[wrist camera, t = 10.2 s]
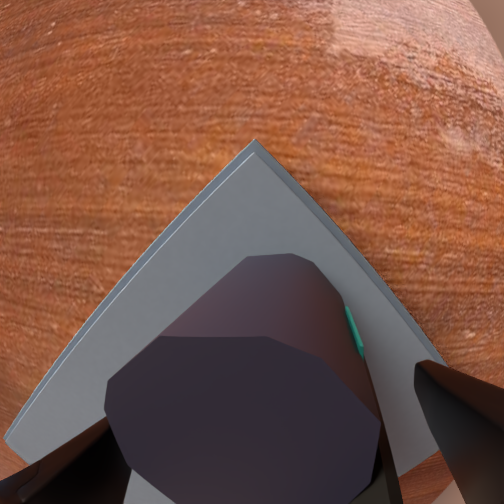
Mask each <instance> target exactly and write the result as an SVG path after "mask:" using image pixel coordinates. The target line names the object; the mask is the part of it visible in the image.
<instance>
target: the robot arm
mask: <svg viewBox="0 0 504 504" xmlns="http://www.w3.org/2000/svg"><path fill="white" fill-rule="evenodd" d="M414 390H415V393H416V395H417V398H418V401H419V403H420V406H421V408H422V411H423V414H424V416H425V419H426V422H427V424H428V427H429V429H430V431H431V434H432V436H433V437H434V439H435V441H436V443H437V445H438V447H439V449H440V451H441V453H442V455H443V457H444V459H445V461H446V463H447V465H448V467H449V469H450V471H451V473H452V475H453V477H454V480H455V482H456V484H457V486H458V488H459V490H460V492H461V494H462V497H463V499H464V501H465V503H466V504H504V389H503V388H500V387H498V386H495V385H492V384H490V383H487V382H485V381H482V380H479V379H477V378H474V377H472V376H469V375H467V374H464V373H462V372H459V371H457V370H454V369H452V368H449V367H447V366H444V365H442V364H439V363H437V362H434V361H432V360H429V359H426V360H423V361H420V362H417V363H416V364H415V368H414ZM131 472H132V468H131V467H129V466H128V465H127V463H126V461H125V458H124V456H123V454H122V452H121V450H120V447H119V445H118V443H117V441H116V438H115V436H114V434H113V431H112V429H111V426H110V424H109V422H108V419H107V416H105V417H104V418H102V419H101V420H99V421H98V422H96V423H95V424H93V425H92V426H90V427H89V428H87V429H86V430H84V431H83V432H81V433H80V434H78V435H77V436H75V437H74V438H72V439H71V440H69V441H68V442H66V443H65V444H63V445H62V446H60V447H58V448H57V449H55V450H54V451H52V452H51V453H49V454H47V455H46V456H44V457H43V458H41V460H38V461H36V462H35V463H33V464H31V465H30V466H28V467H26V468H25V469H23V470H21V471H19V472H17V473H15V474H13V475H12V476H10V477H8V478H5V479H3V480H1V481H0V504H123V503H124V499H125V495H126V492H127V488H128V484H129V480H130V476H131Z"/></svg>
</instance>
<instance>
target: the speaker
mask: <svg viewBox="0 0 504 504" xmlns="http://www.w3.org/2000/svg"><path fill="white" fill-rule="evenodd" d="M104 411H105V414H106V416H107V419H108V422H109V424H110V426H111V429H112V431H113V434H114V436H115V438H116V441H117V443H118V445H119V447H120V450H121V452H122V454H123V456H124V458H125V461H126V463H127V465H128V466H129V467H131V468H132V469H133V470H134V471H135V472H136V473H137V474H139V475H140V476H141V477H142V478H143V479H145V480H146V481H147V482H148V483H150V484H151V485H152V486H153V487H155V488H156V489H157V490H158V491H160V492H161V493H162V494H164V495H165V496H166V497H168V498H169V499H170V500H172V501H173V502H174V503H176V504H403V499H402V494H401V490H400V485H399V481H398V476H397V472H396V468H395V464H394V460H393V455H392V451H391V447H390V444H389V440H388V436H387V432H386V428H385V424H384V421H383V417H382V414H381V410H380V406H379V403H378V399H377V396H376V392H375V389H374V386H373V382H372V379H371V376H370V372H369V369H368V366H367V363H366V360H365V356H364V346H363V343H362V341H361V338H360V336H359V333H358V330H357V328H356V325H355V323H354V320H353V317H352V315H351V312H350V310H349V307H348V306H345V304H344V302H343V299H342V296H341V294H340V293H339V292H338V291H337V290H336V288H335V287H334V286H333V285H332V284H331V282H330V281H329V280H328V279H327V278H326V277H325V275H324V274H323V273H322V272H321V271H320V269H319V268H318V267H317V266H316V265H315V263H314V262H312V261H310V260H307V259H305V258H302V257H300V256H298V255H295V254H293V253H286V254H273V255H259V256H247V257H245V258H244V259H243V260H242V261H241V262H240V263H239V264H237V265H236V266H235V267H234V268H233V269H232V270H230V271H229V272H228V273H227V274H226V275H225V276H224V277H222V278H221V279H220V280H219V281H218V282H217V283H216V284H214V285H213V286H212V287H211V288H210V289H209V290H208V291H207V292H206V293H204V294H203V295H202V296H201V297H200V298H199V299H198V300H197V301H195V302H194V303H193V304H192V305H191V306H190V307H189V308H188V309H187V310H185V311H184V312H183V313H182V314H181V315H180V316H179V317H178V318H176V319H175V320H174V321H173V322H172V323H171V324H170V325H169V326H168V327H166V328H165V329H164V330H163V331H162V332H161V333H160V334H159V335H158V336H156V337H155V338H154V339H153V340H152V341H151V342H150V343H149V344H148V345H146V346H145V347H144V348H143V349H142V350H141V351H140V352H139V353H137V354H136V355H135V356H134V357H133V358H132V359H131V360H130V361H129V362H127V363H126V364H125V365H124V366H123V367H122V368H121V369H120V370H119V371H117V372H116V373H115V374H114V375H113V376H112V377H111V378H110V379H108V381H107V388H106V395H105V402H104Z"/></svg>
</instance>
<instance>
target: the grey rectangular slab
mask: <svg viewBox="0 0 504 504" xmlns="http://www.w3.org/2000/svg"><path fill="white" fill-rule="evenodd" d="M286 253H293V254H295V255H298V256H300V257H302V258H305V259H307V260H310V261H312V262H314V263H315V265H316V266H317V267H318V268H319V269H320V271H321V272H322V273H323V274H324V275H325V277H326V278H327V279H328V280H329V281H330V282H331V284H332V285H333V286H334V287H335V288H336V290H337V291H338V292H339V293H340V294H341V296H342V299H343V302H344V304H345V306H348V307H349V310H350V312H351V315H352V317H353V320H354V323H355V325H356V328H357V330H358V333H359V336H360V338H361V341H362V343H363V346H364V356H365V360H366V363H367V366H368V369H369V372H370V376H371V379H372V382H373V386H374V389H375V392H376V396H377V399H378V403H379V406H380V410H381V414H382V417H383V421H384V424H385V428H386V432H387V436H388V440H389V444H390V447H391V451H392V455H393V460H394V464H395V468H396V472H397V476H398V477H400V476H401V475H403V474H404V473H406V472H408V471H409V470H411V469H412V468H414V467H415V466H417V465H418V464H420V463H421V462H423V461H424V460H426V459H427V458H428V457H430V456H431V455H433V454H434V453H436V452H437V451H438V450H440V449H439V447H438V445H437V443H436V441H435V439H434V437H433V436H432V434H431V431H430V429H429V427H428V424H427V422H426V419H425V416H424V414H423V411H422V408H421V406H420V403H419V401H418V398H417V395H416V393H415V390H414V368H415V364H416V363H417V362H420V361H423V360H426V359H429V360H432V361H434V362H437V363H439V364H442V365H444V366H447V367H448V365H447V364H446V363H445V361H444V360H443V358H442V357H441V355H440V354H439V353H438V351H437V350H436V349H435V347H434V346H433V344H432V343H431V342H430V340H429V339H428V338H427V336H426V335H425V333H424V332H423V331H422V329H421V328H420V327H419V325H418V324H417V323H416V321H415V320H414V319H413V317H412V316H411V315H410V314H409V312H408V311H407V310H406V308H405V307H404V306H403V304H402V303H401V302H400V301H399V299H398V298H397V297H396V296H395V294H394V293H393V292H392V290H391V289H390V288H389V287H388V285H387V284H386V283H385V282H384V281H383V279H382V278H381V277H380V276H379V274H378V273H377V272H376V271H375V269H374V268H373V267H372V266H371V265H370V263H369V262H368V261H367V260H366V259H365V257H364V256H363V255H362V254H361V253H360V252H359V250H358V249H357V248H356V247H355V246H354V244H353V243H352V242H351V241H350V240H349V239H348V238H347V236H346V235H345V234H344V233H343V232H342V231H341V229H340V228H339V227H338V226H337V225H336V224H335V223H334V222H333V220H332V219H331V218H330V217H329V216H328V215H327V214H326V213H325V211H324V210H323V209H322V208H321V207H320V206H319V205H318V204H317V203H316V202H315V200H314V199H313V198H312V197H311V196H310V195H309V194H308V193H307V192H306V191H305V190H304V189H303V188H302V186H301V185H300V184H299V183H298V182H297V181H296V180H295V179H294V178H293V177H292V176H291V175H290V174H289V173H288V172H287V171H286V170H285V169H284V168H283V167H282V165H281V164H280V163H279V162H278V161H277V160H276V159H275V158H274V157H273V156H272V155H271V154H270V153H269V152H268V151H267V150H266V149H265V148H264V147H263V146H262V145H261V144H260V143H259V142H258V141H257V140H256V139H254V140H253V141H252V142H250V143H249V144H248V145H247V146H246V147H245V148H244V149H243V150H242V151H241V152H240V153H239V154H238V155H237V156H236V157H235V158H234V159H233V160H232V161H231V162H230V163H229V164H228V165H227V166H226V167H225V168H224V169H223V170H222V171H221V172H220V173H219V174H218V175H217V176H216V177H215V178H214V179H213V180H212V181H211V182H210V183H209V184H208V185H207V186H206V187H205V188H204V189H203V190H202V191H201V192H200V193H199V194H198V195H197V196H196V197H195V198H194V199H193V200H192V201H191V202H190V203H189V204H188V205H187V206H186V207H185V208H184V209H183V211H182V212H181V213H180V214H179V215H178V216H177V217H176V218H175V219H174V220H173V221H172V222H171V223H170V224H169V225H168V227H167V228H166V229H165V230H164V231H163V232H162V233H161V234H160V235H159V236H158V237H157V239H156V240H155V241H154V242H153V243H152V244H151V245H150V246H149V247H148V249H147V250H146V251H145V252H144V253H143V254H142V255H141V256H140V258H139V259H138V260H137V261H136V262H135V263H134V264H133V266H132V267H131V268H130V269H129V270H128V271H127V272H126V274H125V275H124V276H123V277H122V278H121V280H120V281H119V282H118V283H117V284H116V285H115V287H114V288H113V289H112V290H111V291H110V293H109V294H108V295H107V296H106V297H105V299H104V300H103V301H102V302H101V303H100V305H99V306H98V307H97V308H96V310H95V311H94V312H93V313H92V315H91V316H90V317H89V318H88V320H87V321H86V322H85V323H84V325H83V326H82V327H81V328H80V330H79V331H78V332H77V334H76V335H75V336H74V337H73V339H72V340H71V341H70V343H69V344H68V345H67V347H66V348H65V349H64V351H63V352H62V353H61V355H60V356H59V357H58V359H57V360H56V361H55V363H54V364H53V365H52V367H51V368H50V369H49V371H48V372H47V374H46V375H45V376H44V378H43V379H42V381H41V382H40V383H39V385H38V386H37V388H36V389H35V390H34V392H33V393H32V395H31V396H30V398H29V399H28V401H27V402H26V404H25V405H24V407H23V408H22V410H21V411H20V413H19V414H18V416H17V417H16V419H15V420H14V422H13V423H12V425H11V426H10V428H9V429H8V431H7V433H6V434H5V436H4V437H3V439H4V440H5V443H6V444H7V445H8V446H9V447H10V448H11V449H12V450H13V451H14V452H15V453H16V454H17V455H19V456H20V457H21V458H22V459H23V460H24V461H25V462H26V463H28V464H29V465H31V464H33V463H35V462H36V461H38V460H41V458H43V457H44V456H46V455H47V454H49V453H51V452H52V451H54V450H55V449H57V448H58V447H60V446H62V445H63V444H65V443H66V442H68V441H69V440H71V439H72V438H74V437H75V436H77V435H78V434H80V433H81V432H83V431H84V430H86V429H87V428H89V427H90V426H92V425H93V424H95V423H96V422H98V421H99V420H101V419H102V418H104V417H105V416H106V414H105V411H104V402H105V395H106V388H107V381H108V379H110V378H111V377H112V376H113V375H114V374H115V373H116V372H117V371H119V370H120V369H121V368H122V367H123V366H124V365H125V364H126V363H127V362H129V361H130V360H131V359H132V358H133V357H134V356H135V355H136V354H137V353H139V352H140V351H141V350H142V349H143V348H144V347H145V346H146V345H148V344H149V343H150V342H151V341H152V340H153V339H154V338H155V337H156V336H158V335H159V334H160V333H161V332H162V331H163V330H164V329H165V328H166V327H168V326H169V325H170V324H171V323H172V322H173V321H174V320H175V319H176V318H178V317H179V316H180V315H181V314H182V313H183V312H184V311H185V310H187V309H188V308H189V307H190V306H191V305H192V304H193V303H194V302H195V301H197V300H198V299H199V298H200V297H201V296H202V295H203V294H204V293H206V292H207V291H208V290H209V289H210V288H211V287H212V286H213V285H214V284H216V283H217V282H218V281H219V280H220V279H221V278H222V277H224V276H225V275H226V274H227V273H228V272H229V271H230V270H232V269H233V268H234V267H235V266H236V265H237V264H239V263H240V262H241V261H242V260H243V259H244V258H245V257H247V256H259V255H273V254H286ZM123 504H176V503H174V502H173V501H172V500H170V499H169V498H168V497H166V496H165V495H164V494H162V493H161V492H160V491H158V490H157V489H156V488H155V487H153V486H152V485H151V484H150V483H148V482H147V481H146V480H145V479H143V478H142V477H141V476H140V475H139V474H137V473H136V472H135V471H134V470H133V469H132V472H131V476H130V480H129V484H128V488H127V492H126V495H125V499H124V503H123Z"/></svg>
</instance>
